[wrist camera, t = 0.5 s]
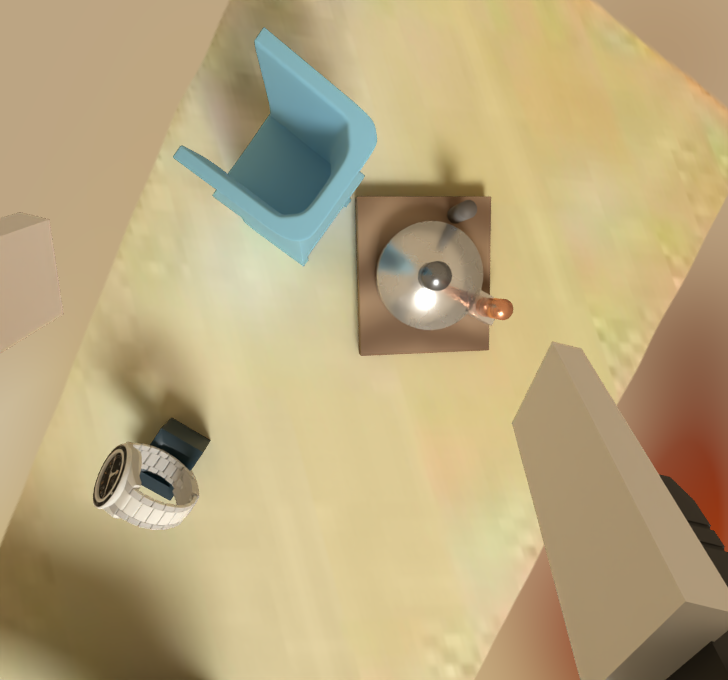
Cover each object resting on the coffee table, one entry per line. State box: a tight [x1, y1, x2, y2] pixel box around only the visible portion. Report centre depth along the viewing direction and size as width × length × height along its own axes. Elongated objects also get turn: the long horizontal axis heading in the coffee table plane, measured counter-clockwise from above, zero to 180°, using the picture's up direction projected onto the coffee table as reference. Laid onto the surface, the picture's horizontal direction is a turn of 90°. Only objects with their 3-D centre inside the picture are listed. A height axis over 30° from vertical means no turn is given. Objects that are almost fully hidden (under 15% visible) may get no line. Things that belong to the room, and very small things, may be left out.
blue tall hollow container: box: [173, 27, 377, 266], centre depth 32 cm, size 8×8×20 cm
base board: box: [355, 197, 491, 356], centre depth 42 cm, size 15×13×5 cm
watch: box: [93, 418, 211, 530], centre depth 38 cm, size 6×8×11 cm
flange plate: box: [376, 221, 513, 330], centre depth 40 cm, size 12×10×6 cm
